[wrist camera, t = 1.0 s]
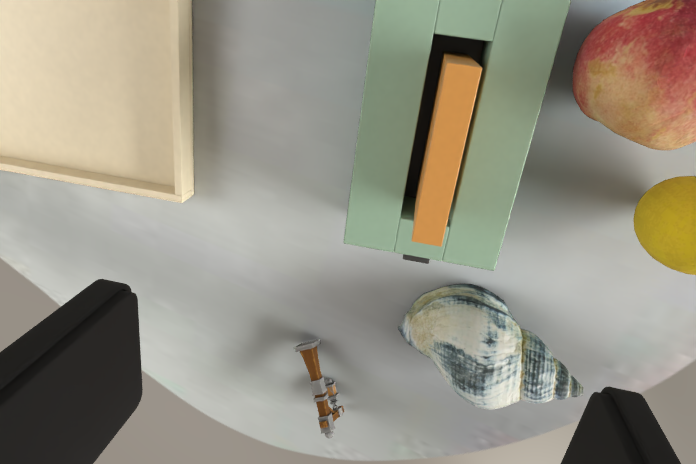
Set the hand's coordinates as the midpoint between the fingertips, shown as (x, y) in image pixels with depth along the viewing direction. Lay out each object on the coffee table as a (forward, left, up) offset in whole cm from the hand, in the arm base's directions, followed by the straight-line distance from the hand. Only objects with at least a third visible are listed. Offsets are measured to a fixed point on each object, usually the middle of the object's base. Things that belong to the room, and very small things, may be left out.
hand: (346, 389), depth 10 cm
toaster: (-1, +2, -26) cm, 26 cm away
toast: (-1, +2, -26) cm, 26 cm away
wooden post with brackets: (+22, -3, -26) cm, 34 cm away
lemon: (+2, +18, -26) cm, 32 cm away
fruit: (-6, +13, -26) cm, 30 cm away
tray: (0, -25, -26) cm, 36 cm away
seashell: (+15, +9, -26) cm, 31 cm away
